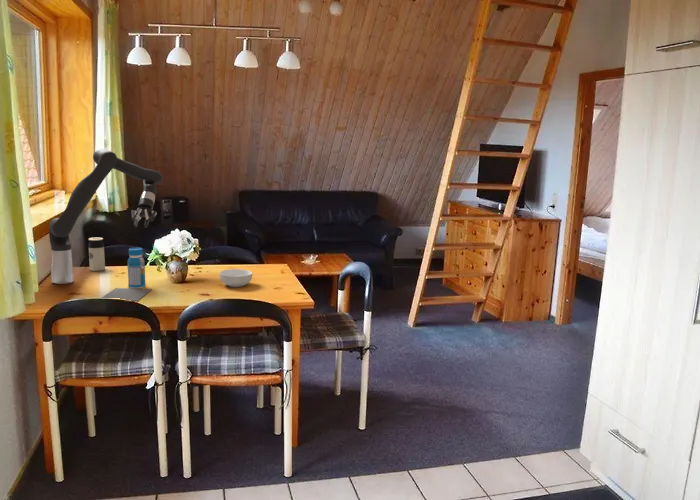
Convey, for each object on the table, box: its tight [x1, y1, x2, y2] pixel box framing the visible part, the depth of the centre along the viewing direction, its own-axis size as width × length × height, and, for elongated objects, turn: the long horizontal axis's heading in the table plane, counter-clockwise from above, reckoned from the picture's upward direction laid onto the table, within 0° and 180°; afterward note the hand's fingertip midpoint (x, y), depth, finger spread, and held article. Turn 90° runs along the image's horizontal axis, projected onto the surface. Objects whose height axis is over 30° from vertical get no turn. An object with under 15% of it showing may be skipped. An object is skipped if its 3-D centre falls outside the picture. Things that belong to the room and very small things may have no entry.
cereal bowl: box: [219, 268, 253, 288], centre depth 307 cm, size 17×17×7 cm
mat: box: [101, 287, 152, 302], centre depth 283 cm, size 18×21×1 cm
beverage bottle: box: [126, 247, 146, 289], centre depth 296 cm, size 8×8×20 cm
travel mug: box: [87, 237, 106, 272], centre depth 330 cm, size 8×8×18 cm
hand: (140, 226), depth 312 cm, fingers open, 4 cm apart
